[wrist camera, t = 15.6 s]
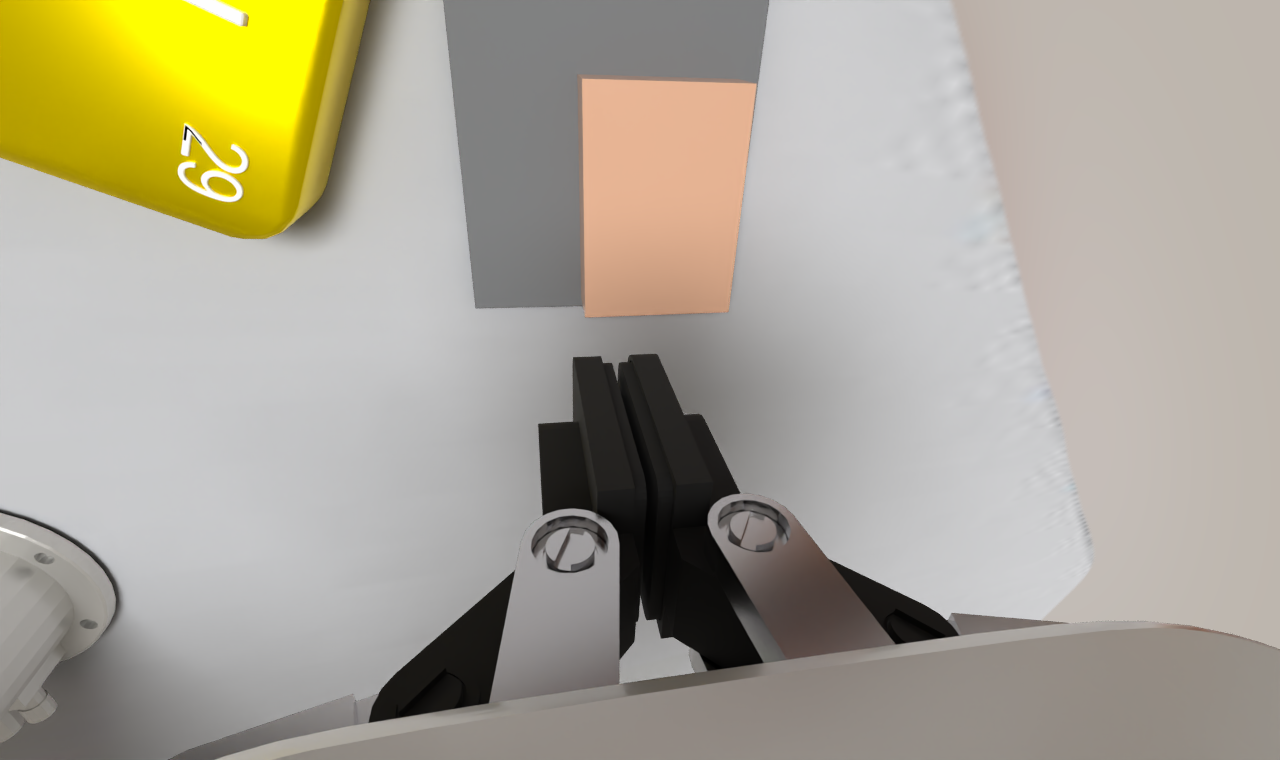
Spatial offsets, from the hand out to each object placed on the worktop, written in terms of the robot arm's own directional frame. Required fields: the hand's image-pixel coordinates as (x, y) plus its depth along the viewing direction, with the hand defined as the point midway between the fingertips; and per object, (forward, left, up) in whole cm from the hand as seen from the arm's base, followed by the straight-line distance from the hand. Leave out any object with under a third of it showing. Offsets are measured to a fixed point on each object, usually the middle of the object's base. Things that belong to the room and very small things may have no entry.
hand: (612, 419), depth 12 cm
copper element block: (+8, +15, -19) cm, 26 cm away
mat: (+3, -2, -18) cm, 19 cm away
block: (0, -1, -17) cm, 17 cm away
